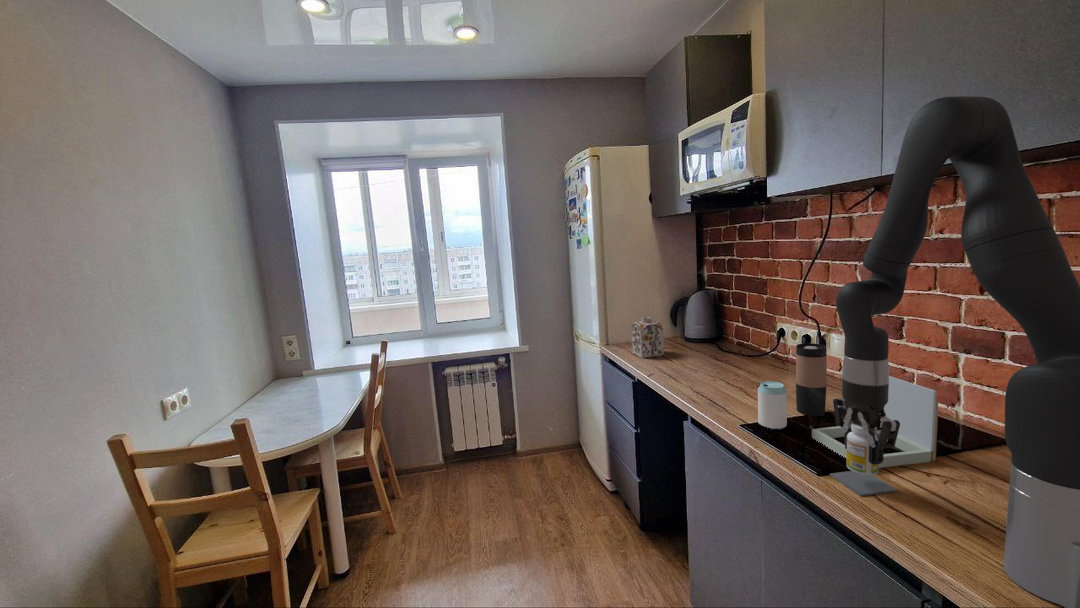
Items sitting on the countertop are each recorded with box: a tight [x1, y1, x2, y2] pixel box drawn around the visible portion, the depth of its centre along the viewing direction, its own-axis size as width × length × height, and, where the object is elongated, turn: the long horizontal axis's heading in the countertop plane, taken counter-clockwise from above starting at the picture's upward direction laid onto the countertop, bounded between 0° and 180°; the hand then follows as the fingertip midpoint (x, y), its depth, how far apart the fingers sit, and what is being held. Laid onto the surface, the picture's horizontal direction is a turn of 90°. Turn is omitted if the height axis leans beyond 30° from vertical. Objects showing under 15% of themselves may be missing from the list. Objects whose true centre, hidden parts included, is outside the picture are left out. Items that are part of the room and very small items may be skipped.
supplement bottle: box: [845, 423, 880, 476], centre depth 87 cm, size 5×5×10 cm
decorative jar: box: [630, 316, 665, 359], centre depth 202 cm, size 12×12×18 cm
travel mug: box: [795, 342, 828, 417], centre depth 124 cm, size 8×8×20 cm
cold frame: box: [811, 375, 939, 469], centre depth 101 cm, size 16×17×16 cm
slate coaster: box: [829, 470, 898, 497], centre depth 88 cm, size 8×8×1 cm
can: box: [757, 380, 788, 430], centre depth 117 cm, size 7×7×12 cm
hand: (862, 455), depth 88 cm, fingers closed on supplement bottle, 5 cm apart
